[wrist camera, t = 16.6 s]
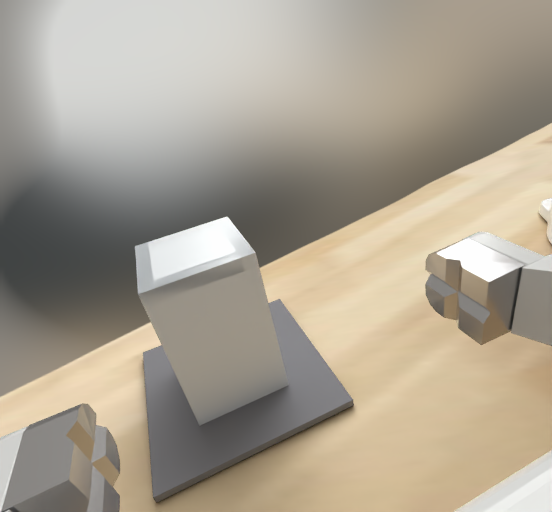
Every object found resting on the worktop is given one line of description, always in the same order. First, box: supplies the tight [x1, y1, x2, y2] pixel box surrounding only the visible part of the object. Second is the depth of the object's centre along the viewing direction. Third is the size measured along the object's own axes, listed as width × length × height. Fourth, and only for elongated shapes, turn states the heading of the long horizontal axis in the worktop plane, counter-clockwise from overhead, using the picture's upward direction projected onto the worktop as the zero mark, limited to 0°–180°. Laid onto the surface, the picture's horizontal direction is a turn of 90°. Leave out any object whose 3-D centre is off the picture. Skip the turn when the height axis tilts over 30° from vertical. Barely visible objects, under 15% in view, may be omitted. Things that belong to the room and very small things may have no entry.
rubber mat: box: [143, 299, 354, 503], centre depth 25 cm, size 12×12×1 cm
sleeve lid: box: [135, 217, 289, 426], centre depth 23 cm, size 6×6×10 cm
